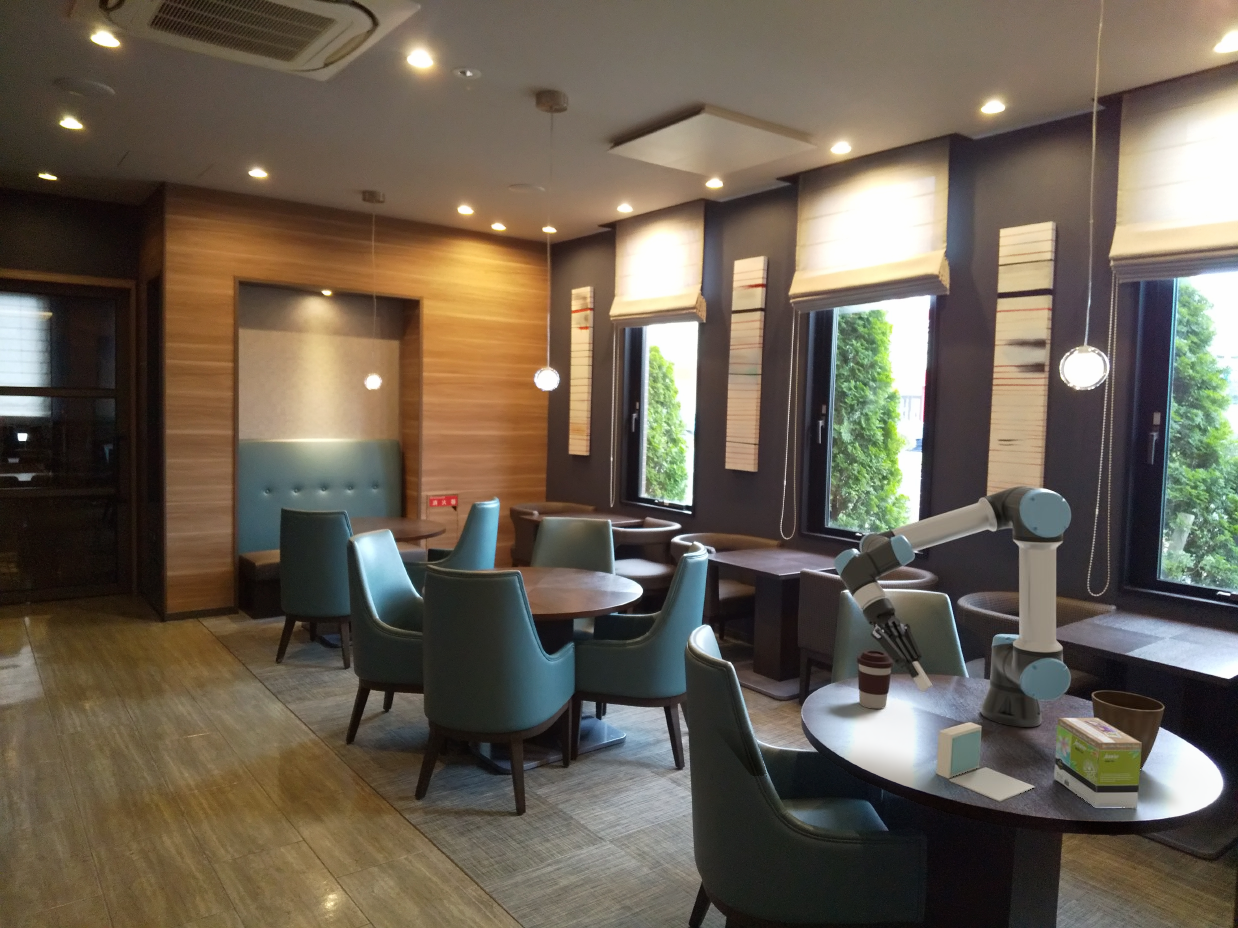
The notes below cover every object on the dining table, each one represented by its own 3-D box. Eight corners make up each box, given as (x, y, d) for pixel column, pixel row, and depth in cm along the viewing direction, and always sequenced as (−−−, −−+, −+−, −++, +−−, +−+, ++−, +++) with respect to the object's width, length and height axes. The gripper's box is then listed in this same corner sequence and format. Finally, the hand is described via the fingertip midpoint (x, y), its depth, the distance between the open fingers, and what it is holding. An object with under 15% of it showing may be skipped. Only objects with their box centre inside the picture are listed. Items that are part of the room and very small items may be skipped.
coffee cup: (892, 712, 234) (895, 659, 233) (855, 708, 236) (858, 655, 235) (888, 701, 244) (891, 649, 243) (853, 697, 246) (856, 646, 245)
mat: (985, 768, 197) (985, 766, 197) (1035, 787, 188) (1035, 786, 188) (949, 780, 189) (949, 779, 189) (999, 801, 180) (999, 800, 180)
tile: (967, 763, 200) (969, 721, 200) (980, 768, 197) (983, 726, 197) (936, 773, 193) (938, 730, 193) (949, 779, 191) (952, 735, 190)
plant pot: (1073, 757, 206) (1077, 693, 206) (1114, 750, 213) (1118, 687, 212) (1132, 782, 193) (1137, 713, 192) (1173, 773, 199) (1179, 706, 198)
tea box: (1051, 779, 193) (1056, 715, 192) (1093, 779, 194) (1098, 716, 193) (1094, 809, 178) (1099, 740, 177) (1139, 809, 179) (1144, 741, 178)
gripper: (882, 610, 221) (933, 691, 208) (848, 614, 214) (899, 699, 201) (900, 594, 216) (953, 676, 204) (867, 598, 209) (920, 683, 196)
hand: (926, 688), depth 202 cm, fingers closed
